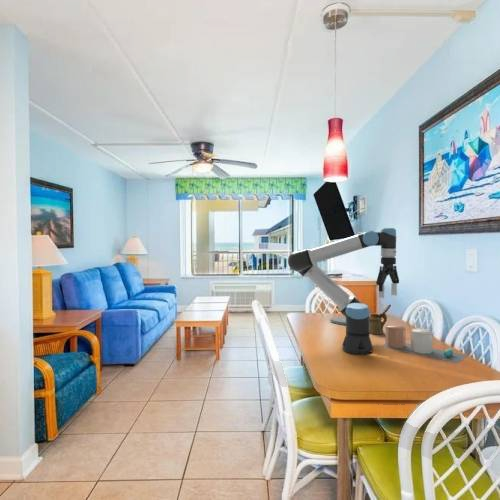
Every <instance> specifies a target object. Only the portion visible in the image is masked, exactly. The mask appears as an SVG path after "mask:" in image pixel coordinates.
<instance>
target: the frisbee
mask: <svg viewBox="0 0 500 500" xmlns="http://www.w3.org/2000/svg"><path fill="white" fill-rule="evenodd" d="M330 323H331V324H335V325H340V326H346V317H345V316H336V317H335V316H334V317H331V318H330Z"/></svg>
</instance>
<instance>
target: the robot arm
mask: <svg viewBox="0 0 500 500" xmlns="http://www.w3.org/2000/svg"><path fill="white" fill-rule="evenodd" d="M373 246H376V247H377V246H378V247H379V246H380V264H381V265H380V266H379V270H378V275H377V278H376V285H377V286H378V298H382V299H384V298H385V282H386V279H387V277H388V276H389V277H390V280H391V288H390V289H391V290H390V291H391V292H390V293H391V294H390V295H391V296H397V295H398V293H397V292H398V289H397V287H398V284H399V283H400V279H399V274H398V270H397V257H396V256H397V229H396V228H394V227H383V228H381V229H380V231H377V232H376V231H374V230H367V231H359V232H358V233H357V234H356V235H352V236H349V237H346V238H342V239H341V240H337V241H334V242H330V243H328V244H324V245H322V246H318V247H315V248H312V249H310V248H307V249H300V250H294V251H292V252H291V253H290V254H289V256H288V258H287V265H288V267H289V269H291V270H292V271H295V272H298V273H299V275H301V276H302V277H303V278H308V279H309V280H310V281H311V282H312V283H313V284H314V285H315V286H316V287H317V288H318V289H320V291H321V292H322V293H324V294H325V296H327V297H328V298H329V299H330V300H331V302H333V303H334V304H335V305H336V306H337V307H338V311H339V313H340V314H342V315H343V317H346V325H345V335H344V339H343V342H342V345H341V347H342V348H341V349H342V351H343V352H346V353H348V354H352V355H362V356H363V355H364V356H365V355H370V354H373V352H372V351H373V350H374V345H373V343H372V341H371V336H370V333H369V332H370V314H371V310H370V306H368V305H367V304H365V303H363V302H361V301H360V300H359V299H357V297H355V296H354V295H350V294H348V293H347V292H346V291H345V290H344V289H343V288H342V287H341V286H340V285H339V284H337V282H335V281H334V280H333V279H332V278H331V277H330V276H329V275H328V274H327V273H326V272H325V271H323V270H322V269H321V268H320V267H319V266H318V263H321V262H324V261H326V260H327V261H328V260H331V259H335V258H337V257H339V256H343V255H346V254H349V253H353V252H355V251H356V252H357V251H359V250H363V249H366V248H368V247H373Z"/></svg>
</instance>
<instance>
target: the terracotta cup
mask: <svg viewBox="0 0 500 500" xmlns="http://www.w3.org/2000/svg"><path fill="white" fill-rule="evenodd" d="M385 325H386V326H385V344H386V345H387V346H389V347H394V348H403V347H405V346H406V343H407V342H406V341H407V337H406V335H407V333H406V332H407V329H406V327H405V325H402V324H393V323H392V324H391V323H390V324H389V323H388V324H385Z"/></svg>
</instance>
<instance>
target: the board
mask: <svg viewBox="0 0 500 500" xmlns="http://www.w3.org/2000/svg"><path fill="white" fill-rule="evenodd" d="M379 347H381V348H385V349H390V350H394V351H397V352H404V353H408V354H411V355H412V354H413V355H417V356H422V357H426V358H431V359H435V360H440V361H445V362H449V363H455V364H459V363H460V362H461V361H463V359H465V358H466V357H468V355H467V354H462V353H457V352H453V355H451V356H450V357H445V356H444V351H445V350H443V349H437V348H433V352H432V353H418V352H414V351H412V350H411V343H407V342H406V346H405V347H403V348H394V347H389V346H387V345H386V343H384V344H381V345H380V346H379Z"/></svg>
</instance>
